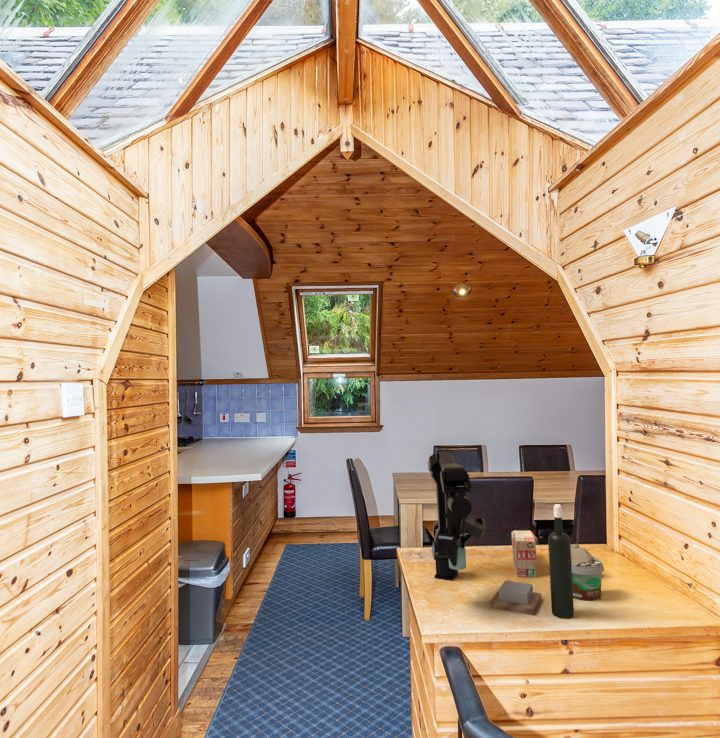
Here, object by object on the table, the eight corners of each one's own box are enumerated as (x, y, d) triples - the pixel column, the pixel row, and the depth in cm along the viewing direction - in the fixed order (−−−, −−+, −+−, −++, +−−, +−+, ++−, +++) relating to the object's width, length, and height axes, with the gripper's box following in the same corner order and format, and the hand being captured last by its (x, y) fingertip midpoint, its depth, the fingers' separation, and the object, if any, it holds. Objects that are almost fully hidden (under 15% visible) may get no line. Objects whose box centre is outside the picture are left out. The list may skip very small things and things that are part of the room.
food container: (586, 606, 150) (584, 570, 150) (568, 598, 155) (566, 564, 156) (614, 596, 156) (613, 562, 156) (596, 590, 161) (595, 556, 162)
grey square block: (499, 600, 152) (498, 589, 152) (505, 590, 159) (505, 580, 159) (527, 604, 148) (527, 593, 148) (533, 594, 155) (532, 584, 155)
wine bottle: (562, 620, 142) (557, 507, 143) (547, 612, 147) (542, 503, 148) (578, 615, 144) (573, 505, 145) (562, 608, 149) (557, 501, 150)
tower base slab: (490, 610, 151) (490, 601, 151) (501, 595, 161) (500, 587, 162) (534, 618, 145) (533, 608, 145) (541, 601, 156) (541, 593, 156)
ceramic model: (607, 577, 172) (605, 546, 172) (584, 584, 166) (582, 552, 167) (570, 565, 184) (569, 536, 184) (548, 571, 178) (547, 541, 179)
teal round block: (446, 568, 154) (445, 551, 154) (452, 563, 158) (451, 546, 158) (463, 570, 151) (462, 553, 152) (468, 565, 156) (467, 548, 156)
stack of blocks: (512, 556, 195) (510, 523, 195) (529, 557, 194) (528, 523, 194) (517, 577, 174) (515, 540, 174) (537, 578, 173) (535, 540, 173)
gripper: (472, 519, 143) (475, 577, 143) (490, 505, 160) (493, 557, 159) (434, 516, 149) (436, 572, 148) (455, 502, 165) (457, 552, 164)
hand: (457, 563), depth 155 cm, fingers closed on teal round block, 5 cm apart
